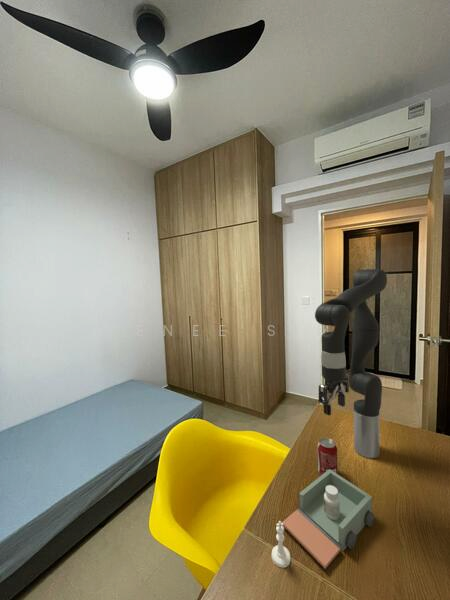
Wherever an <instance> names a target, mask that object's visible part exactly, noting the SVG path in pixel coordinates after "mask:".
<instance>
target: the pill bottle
mask: <svg viewBox="0 0 450 600" xmlns="http://www.w3.org/2000/svg"><path fill="white" fill-rule="evenodd" d="M324 512H325V514H326V516H327V517H328V518H330V519H332V520H337V519H338V518H339V517H340V499H339V497H338V490H337V488H336V487H334V486H332V485H328V486H326V488H325V494H324Z"/></svg>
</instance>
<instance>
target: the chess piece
mask: <svg viewBox="0 0 450 600" xmlns="http://www.w3.org/2000/svg"><path fill="white" fill-rule="evenodd" d="M275 531H276V532H277V533H276V535H275V539H276V540H277V541H278V542H277V543H278V544H277V545H275V546H273V548H272V550H271V560H272V563H274V564H275V566H277V567H278V568H287V567H288V566H289V565H290V563H291V553H290V550H289V549H288V548H287V547H285V546H284V541H285V536H284V532H285V527H284V526H283V523H282V521H281V520H278V523H276V528H275Z"/></svg>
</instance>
